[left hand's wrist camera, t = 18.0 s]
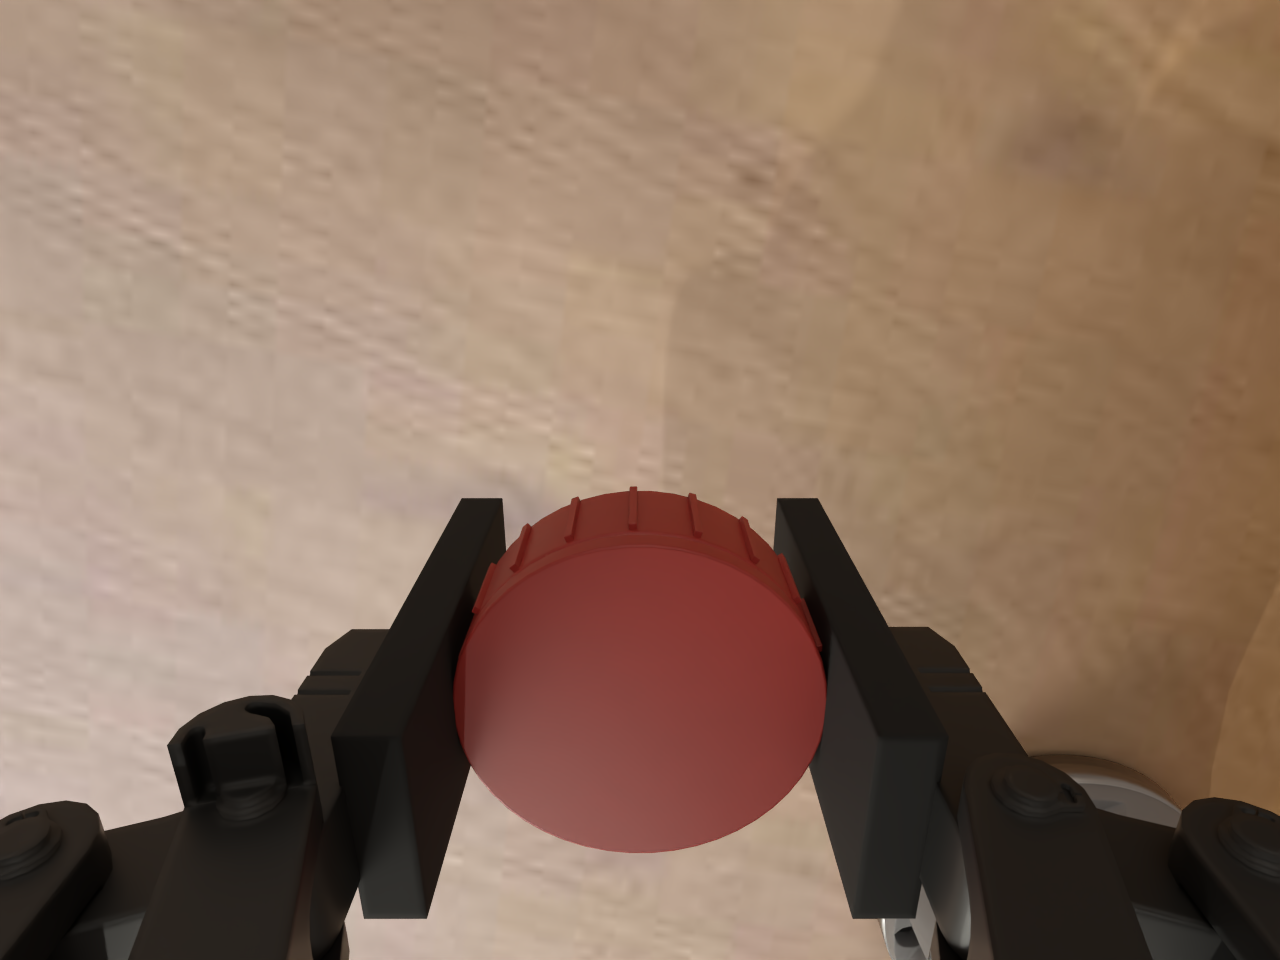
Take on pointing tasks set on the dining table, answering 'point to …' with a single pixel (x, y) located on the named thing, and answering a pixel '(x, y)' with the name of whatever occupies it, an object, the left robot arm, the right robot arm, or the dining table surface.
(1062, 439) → the dining table surface
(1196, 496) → the dining table surface
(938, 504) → the dining table surface
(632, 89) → the dining table surface
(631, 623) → the lid
